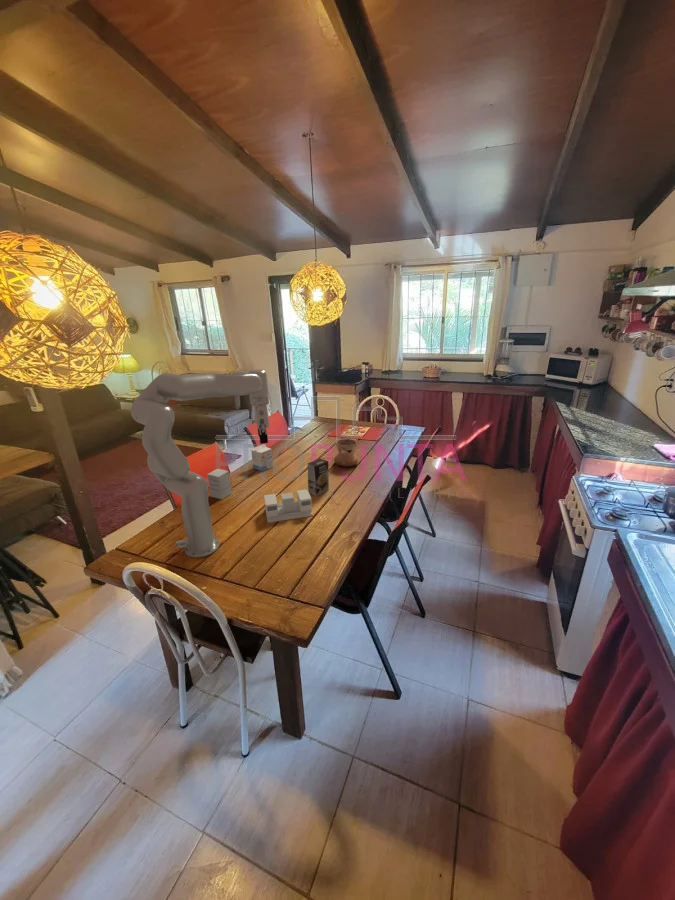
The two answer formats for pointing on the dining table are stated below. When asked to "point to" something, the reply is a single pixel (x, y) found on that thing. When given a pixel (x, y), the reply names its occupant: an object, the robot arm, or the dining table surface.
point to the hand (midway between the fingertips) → (263, 439)
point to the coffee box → (318, 476)
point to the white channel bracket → (276, 513)
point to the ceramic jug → (346, 452)
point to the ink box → (262, 458)
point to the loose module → (287, 502)
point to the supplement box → (219, 483)
